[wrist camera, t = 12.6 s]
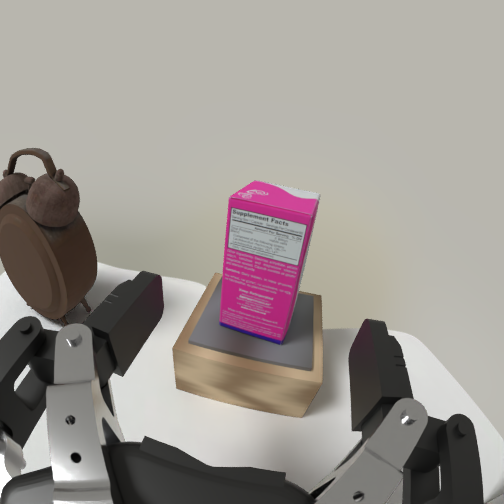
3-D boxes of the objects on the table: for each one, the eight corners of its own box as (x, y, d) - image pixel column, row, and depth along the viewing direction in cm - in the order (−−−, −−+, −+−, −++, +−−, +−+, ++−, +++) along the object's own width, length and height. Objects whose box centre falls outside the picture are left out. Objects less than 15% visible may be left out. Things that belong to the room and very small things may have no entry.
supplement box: (238, 290, 28) (255, 177, 23) (295, 307, 27) (325, 194, 21) (214, 325, 23) (227, 193, 18) (281, 347, 22) (319, 215, 16)
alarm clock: (114, 308, 31) (99, 141, 22) (81, 346, 25) (43, 155, 15) (43, 278, 33) (23, 143, 23) (11, 304, 26) (-22, 157, 17)
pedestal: (307, 334, 33) (322, 292, 30) (301, 417, 22) (324, 380, 19) (212, 312, 34) (215, 269, 31) (176, 388, 23) (172, 344, 20)
